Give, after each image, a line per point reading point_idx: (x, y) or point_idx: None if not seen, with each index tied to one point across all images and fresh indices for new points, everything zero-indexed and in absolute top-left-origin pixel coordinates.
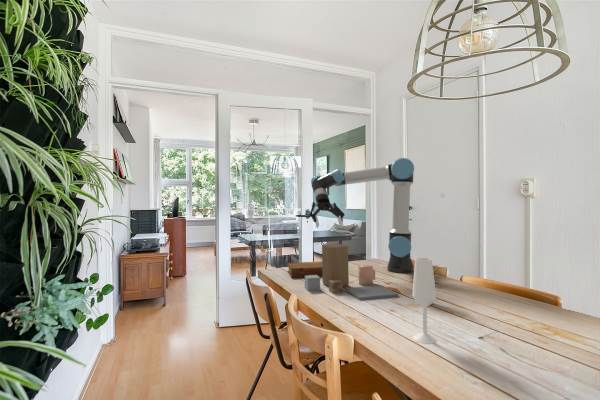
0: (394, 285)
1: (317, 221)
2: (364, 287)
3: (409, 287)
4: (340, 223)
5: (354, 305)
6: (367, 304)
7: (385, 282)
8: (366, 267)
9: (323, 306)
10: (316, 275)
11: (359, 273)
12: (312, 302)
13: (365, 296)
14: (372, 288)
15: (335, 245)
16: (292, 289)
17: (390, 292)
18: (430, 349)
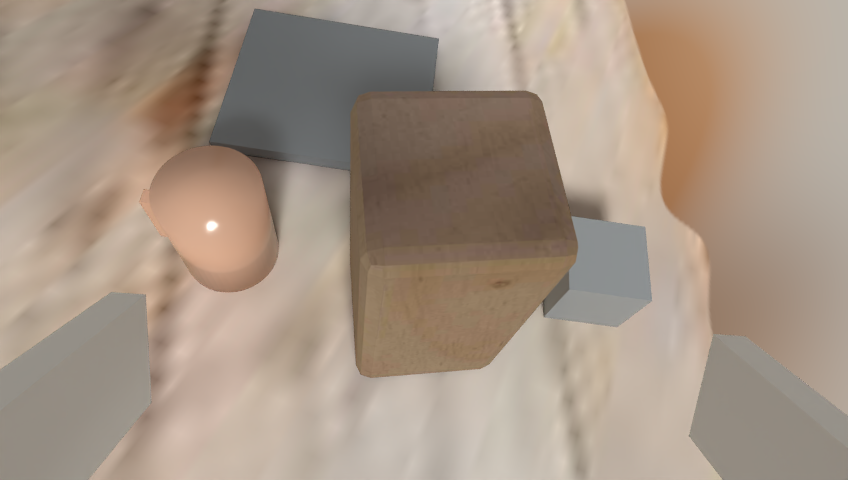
0: (105, 159)
1: (796, 382)
2: (323, 144)
3: (72, 98)
4: (104, 383)
5: (485, 13)
6: (434, 3)
7: (90, 235)
8: (235, 151)
9: (599, 48)
10: (574, 273)
11: (268, 219)
12: (629, 99)
13: (408, 37)
14: (298, 114)
15: (475, 127)
16: (692, 323)
17: (268, 35)
18: None
